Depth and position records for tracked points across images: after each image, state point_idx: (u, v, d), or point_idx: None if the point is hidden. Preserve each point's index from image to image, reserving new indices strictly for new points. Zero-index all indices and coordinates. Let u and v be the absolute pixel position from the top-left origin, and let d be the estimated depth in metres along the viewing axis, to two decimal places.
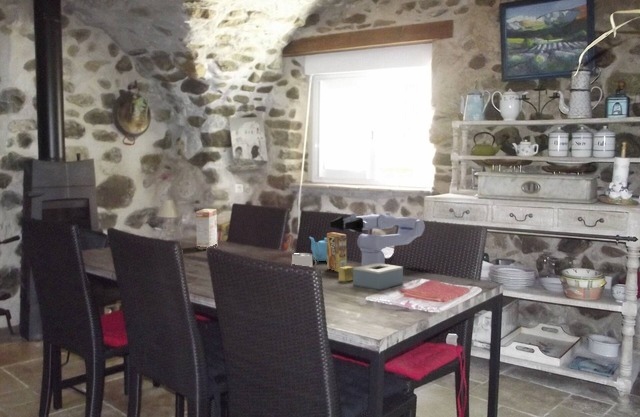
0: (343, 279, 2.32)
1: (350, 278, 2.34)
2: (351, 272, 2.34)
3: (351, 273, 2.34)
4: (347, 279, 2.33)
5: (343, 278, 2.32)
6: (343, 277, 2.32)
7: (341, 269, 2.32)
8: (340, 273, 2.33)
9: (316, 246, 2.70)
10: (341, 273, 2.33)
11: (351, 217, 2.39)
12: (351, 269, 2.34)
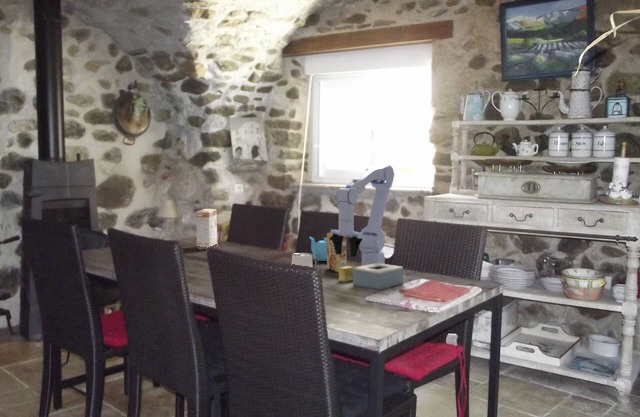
0: (343, 279, 2.32)
1: (350, 278, 2.34)
2: (351, 272, 2.34)
3: (351, 273, 2.34)
4: (347, 279, 2.33)
5: (343, 278, 2.32)
6: (343, 277, 2.32)
7: (341, 269, 2.32)
8: (340, 273, 2.33)
9: (316, 246, 2.70)
10: (341, 273, 2.33)
11: None
12: (351, 269, 2.34)
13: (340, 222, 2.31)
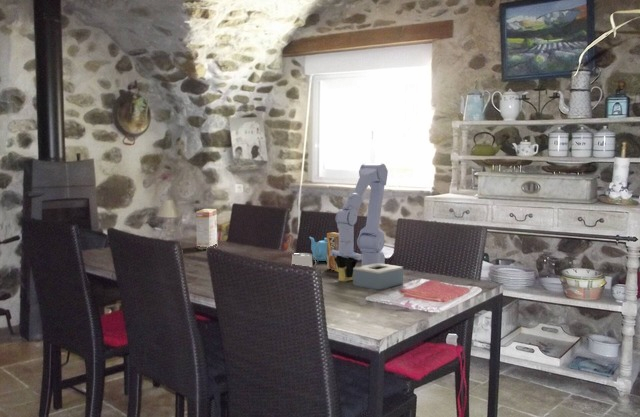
0: (343, 279, 2.32)
1: (350, 278, 2.34)
2: None
3: None
4: (347, 279, 2.33)
5: (343, 278, 2.32)
6: (343, 277, 2.32)
7: (341, 269, 2.32)
8: (340, 273, 2.33)
9: (316, 246, 2.70)
10: (341, 273, 2.33)
11: None
12: None
13: (340, 243, 2.32)
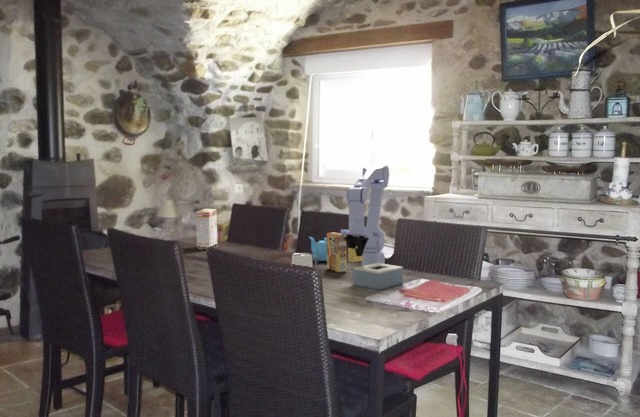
0: (352, 259, 2.28)
1: (359, 258, 2.30)
2: None
3: None
4: (356, 259, 2.29)
5: (352, 258, 2.28)
6: (353, 257, 2.28)
7: (350, 249, 2.29)
8: (349, 253, 2.29)
9: (316, 246, 2.70)
10: (350, 253, 2.29)
11: None
12: None
13: (350, 222, 2.28)
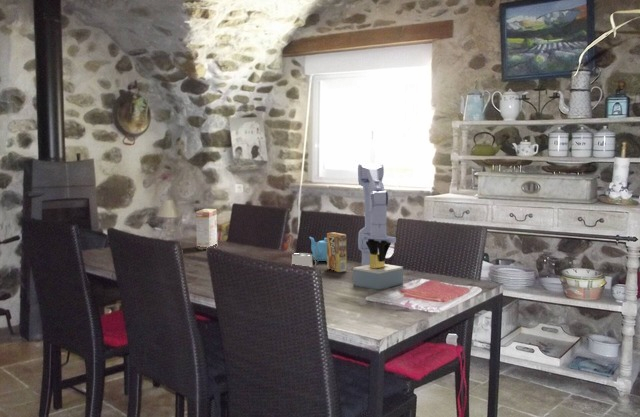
0: (374, 266, 2.23)
1: (381, 265, 2.25)
2: None
3: None
4: (378, 266, 2.23)
5: (374, 265, 2.23)
6: (374, 263, 2.22)
7: (372, 255, 2.23)
8: (371, 259, 2.23)
9: (316, 246, 2.70)
10: (372, 259, 2.23)
11: None
12: None
13: (372, 226, 2.23)
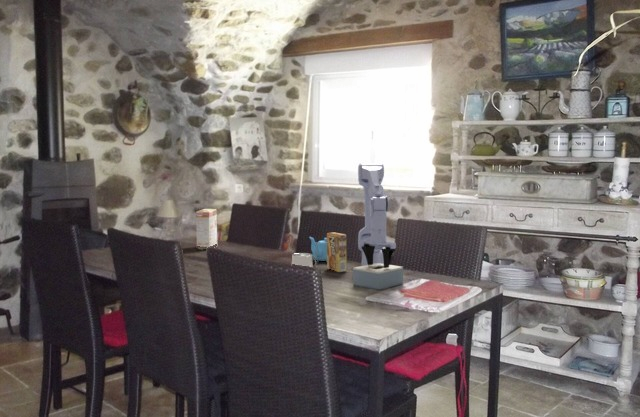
0: None
1: None
2: None
3: None
4: None
5: None
6: None
7: None
8: None
9: (316, 246, 2.70)
10: None
11: None
12: None
13: (372, 232, 2.23)
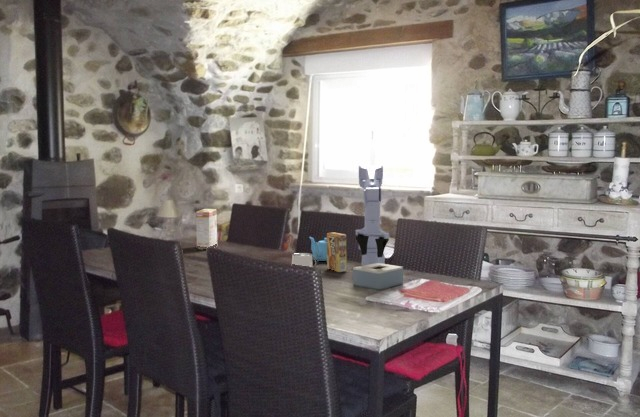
0: None
1: None
2: None
3: None
4: None
5: None
6: None
7: None
8: None
9: (316, 246, 2.70)
10: None
11: None
12: None
13: (366, 222, 2.27)
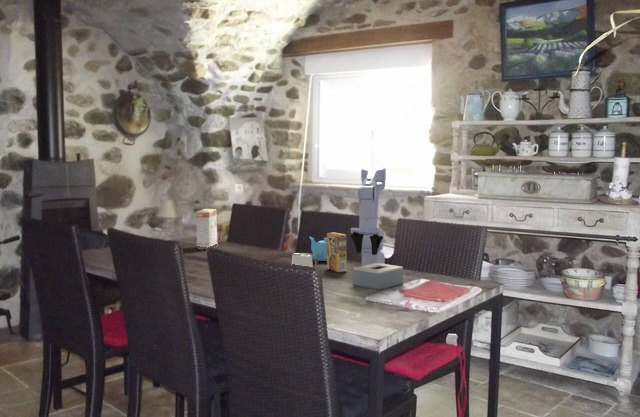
0: None
1: None
2: None
3: None
4: None
5: None
6: None
7: None
8: None
9: (316, 246, 2.70)
10: None
11: None
12: None
13: (361, 220, 2.30)
